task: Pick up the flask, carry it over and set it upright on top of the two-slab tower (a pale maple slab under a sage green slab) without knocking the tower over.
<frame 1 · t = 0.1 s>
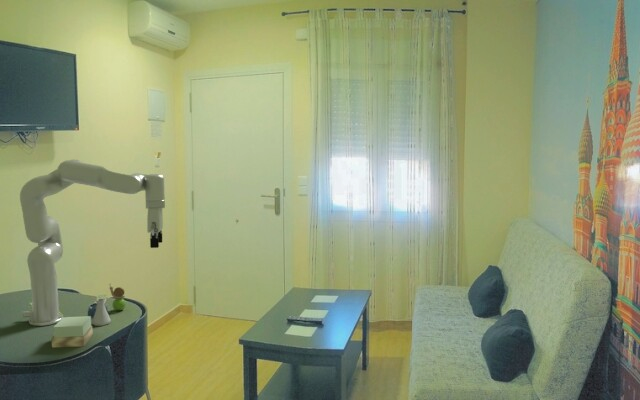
hand: (156, 244, 217), 31 cm above the table, tool pointing down, fingers open, 9 cm apart
tower base block: (73, 341, 196), on the table, touching tower top block
tower top block: (73, 331, 195), point 4 cm above the table, touching tower base block
flask: (101, 323, 214), on the table
snail figurine: (118, 310, 229), on the table
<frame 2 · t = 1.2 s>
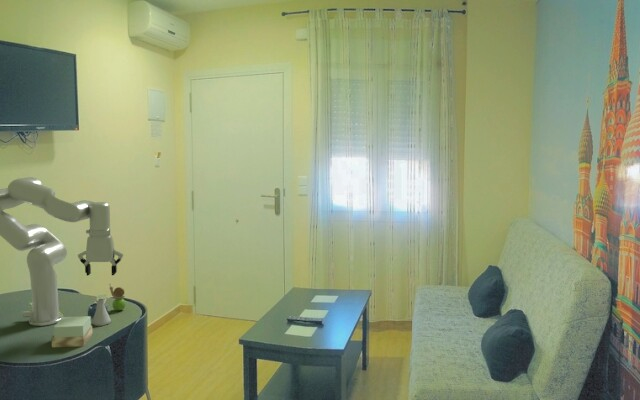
hand: (101, 274, 211), 20 cm above the table, tool pointing down, fingers open, 9 cm apart
nothing on the table moved.
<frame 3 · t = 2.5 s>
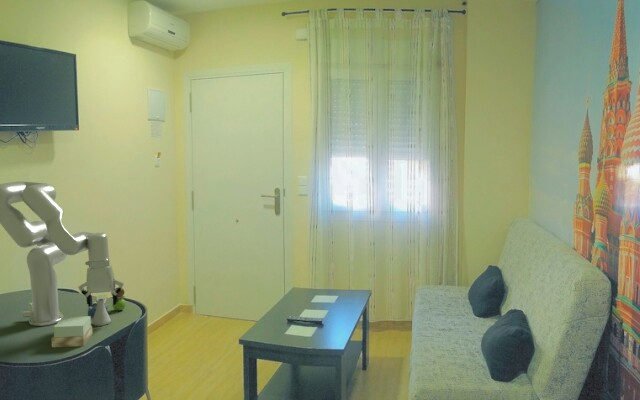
hand: (102, 304, 213), 8 cm above the table, tool pointing down, fingers open, 9 cm apart
nothing on the table moved.
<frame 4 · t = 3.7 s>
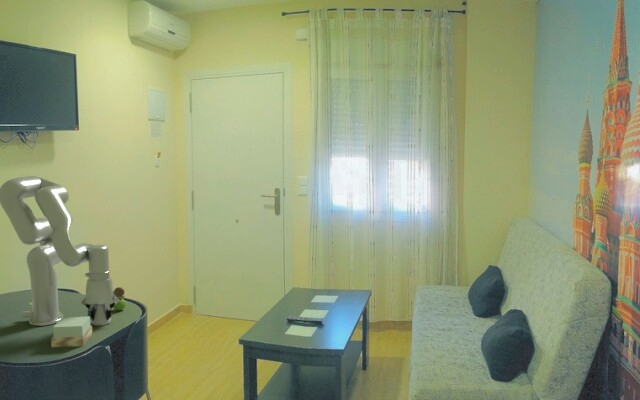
hand: (101, 318, 213), 2 cm above the table, tool pointing down, fingers closed on flask, 5 cm apart
flask: (101, 323, 214), on the table, touching gripper
everything else where it was.
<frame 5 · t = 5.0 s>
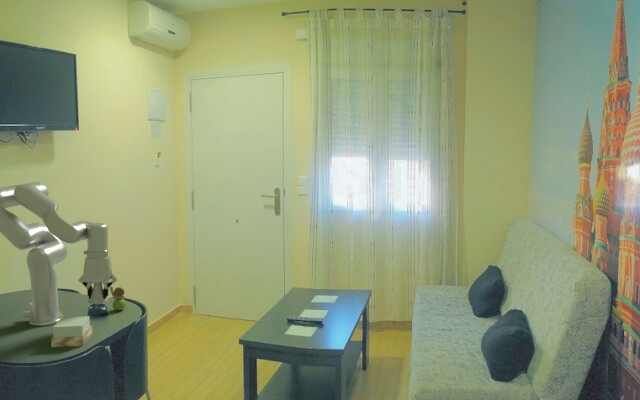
hand: (98, 297, 212), 11 cm above the table, tool pointing down, fingers closed on flask, 5 cm apart
flask: (98, 302, 213), point 9 cm above the table, touching gripper
everything else where it was.
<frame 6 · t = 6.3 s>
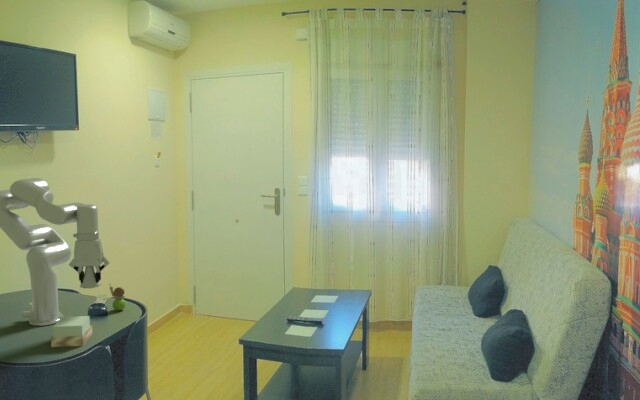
hand: (90, 281, 205), 19 cm above the table, tool pointing down, fingers closed on flask, 5 cm apart
flask: (90, 286, 205), point 17 cm above the table, touching gripper
everything else where it was.
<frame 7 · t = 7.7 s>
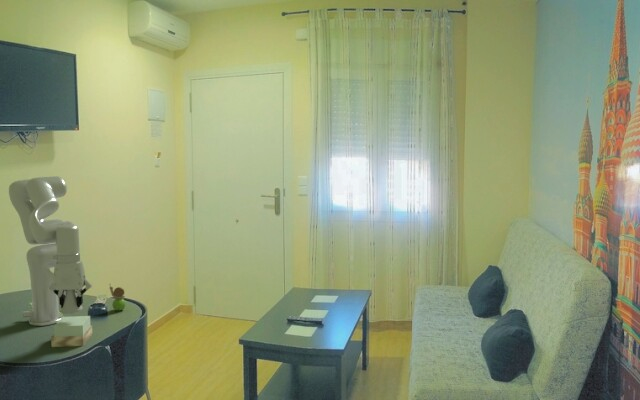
hand: (71, 305, 194), 14 cm above the table, tool pointing down, fingers closed on flask, 5 cm apart
flask: (71, 311, 194), point 11 cm above the table, touching gripper
everything else where it was.
when the fingers open (11 cm above the table, at t = 8.6 s): flask drops 1 cm, resting on tower top block.
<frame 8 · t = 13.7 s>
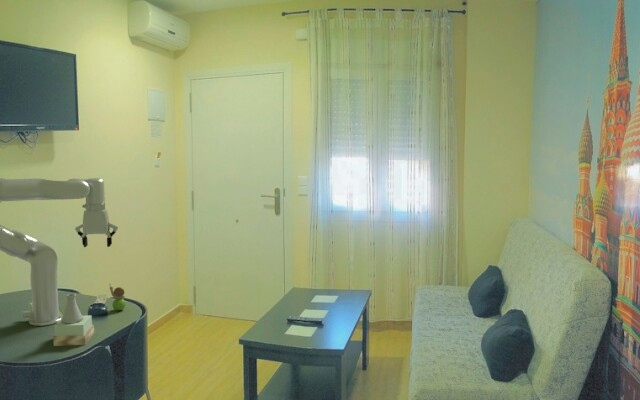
hand: (97, 246, 226), 28 cm above the table, tool pointing down, fingers open, 9 cm apart
tower top block: (74, 330, 197), point 3 cm above the table, touching flask, tower base block
flask: (72, 321, 196), point 7 cm above the table, touching tower top block
at the end: flask 0.4 cm off-centre on the tower top block, point 3.8 cm above the tower top block's base; flask tilted 1°; tower top block 0.2 cm off-centre on the tower base block, point 4.0 cm above the tower base block's base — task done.
